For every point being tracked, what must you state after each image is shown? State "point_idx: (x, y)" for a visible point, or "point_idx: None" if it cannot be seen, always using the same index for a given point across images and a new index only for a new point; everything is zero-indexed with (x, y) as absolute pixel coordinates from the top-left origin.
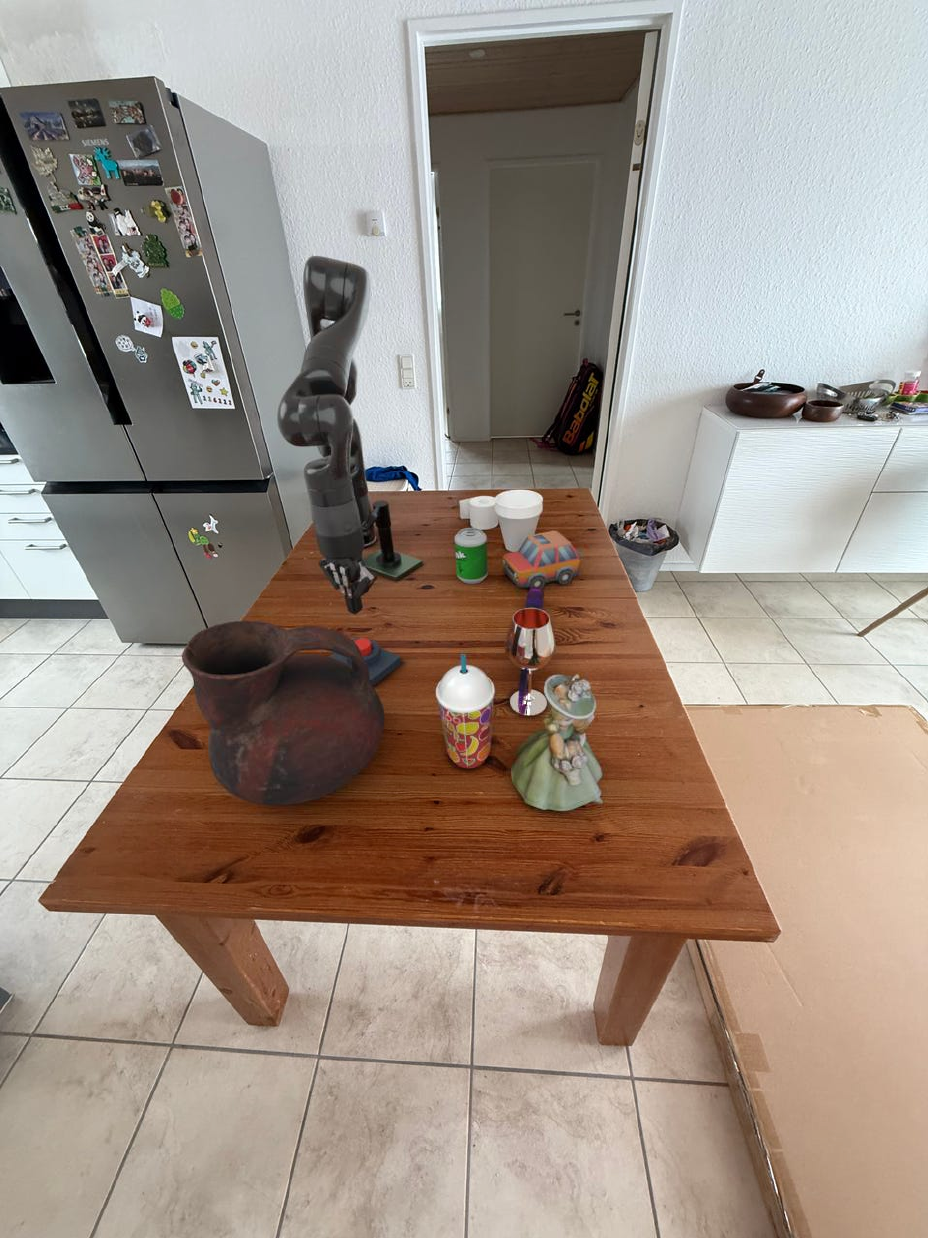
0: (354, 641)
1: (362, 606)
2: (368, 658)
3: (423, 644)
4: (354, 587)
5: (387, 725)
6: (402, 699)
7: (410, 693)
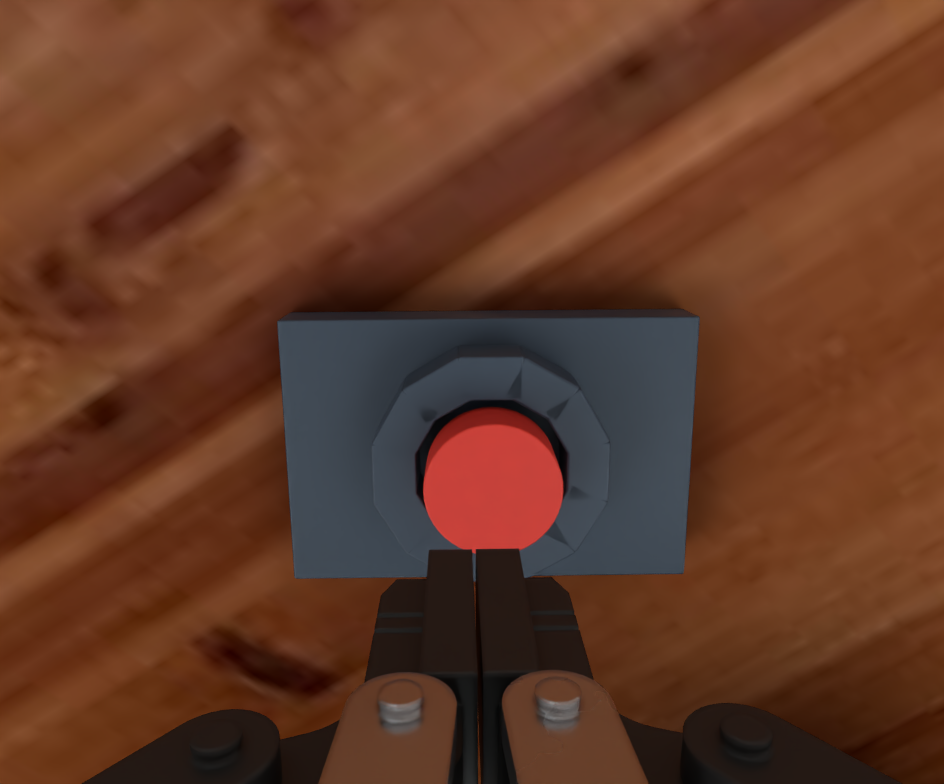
0: (425, 494)
1: (569, 598)
2: (598, 516)
3: (689, 63)
4: (454, 720)
5: (915, 694)
6: (877, 532)
7: (890, 475)
